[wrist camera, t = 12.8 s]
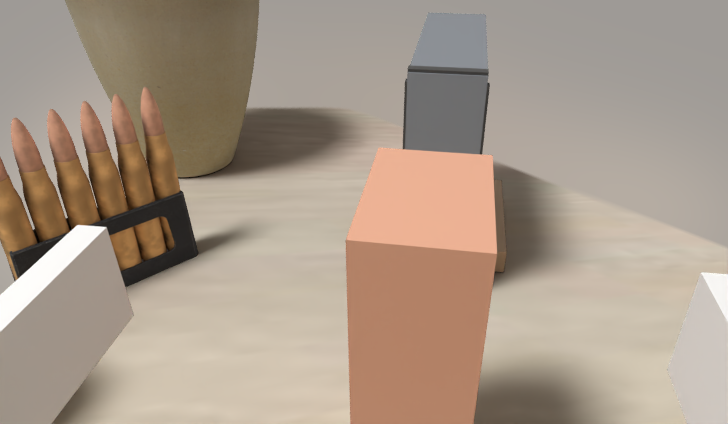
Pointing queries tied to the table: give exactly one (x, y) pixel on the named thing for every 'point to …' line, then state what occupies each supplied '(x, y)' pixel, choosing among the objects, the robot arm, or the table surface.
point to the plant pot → (177, 68)
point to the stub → (420, 287)
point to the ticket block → (451, 96)
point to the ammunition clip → (99, 193)
